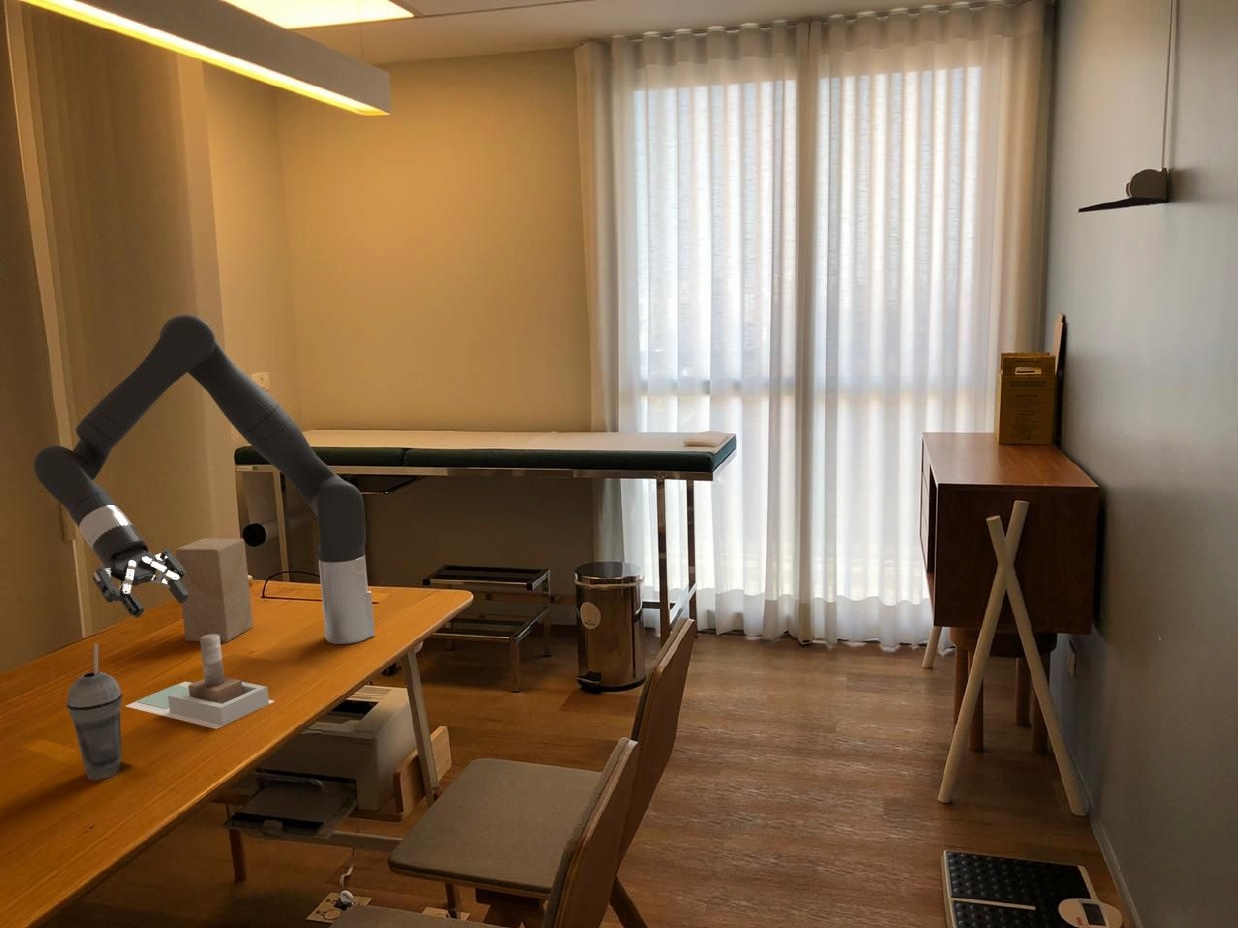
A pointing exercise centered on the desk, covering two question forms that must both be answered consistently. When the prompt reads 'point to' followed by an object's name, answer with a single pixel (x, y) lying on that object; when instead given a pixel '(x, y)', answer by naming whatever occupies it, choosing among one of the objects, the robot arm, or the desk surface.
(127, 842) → the desk surface
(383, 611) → the desk surface
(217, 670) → the peg with base
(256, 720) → the desk surface
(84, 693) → the beverage cup
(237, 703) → the docking tray
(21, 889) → the desk surface
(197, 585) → the wooden block
